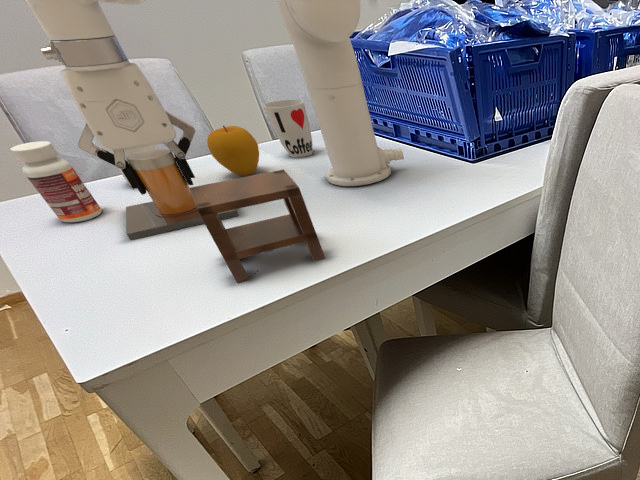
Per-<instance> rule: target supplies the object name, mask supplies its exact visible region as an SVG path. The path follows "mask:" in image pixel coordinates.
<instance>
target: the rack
mask: <svg viewBox="0 0 640 480" xmlns="http://www.w3.org/2000/svg"><path fill="white" fill-rule="evenodd" d="M189 187H190V186H189ZM190 190H191V194H192V197H193V200H194V203H195V206H196V209H197V211H198V212H199V214H200V216H201V218H202V220H203V222H204V225H205V227H206V229H207V231H208V233H209V235H210V237H211V238H212V241H213V242H214V244H215V245H216V247H217V249H218V251H219V253H220V254H221V256H222V258H223V260H224V262H225V264H226V266H227V267H228V269H229V271H230V273H231V275H232V277H233V278H234V281H235V282H236V283H241V282H245V281H249V280H250V278H249V275H248V273H247V271H246V269H245V267H244V266H243V263H242V261H241V259H244V258H248V257H253V256H256V255H258V254H264V253H268V252H271V251H274V250H279V249H283V248H287V247H291V246H295V245H299V244H303V243H305V244H306V246H307V249H308V252H309V254H310V257H311V259H312V261H314V262H317V261H321V260H324V259H326V255H325V253H324V250H323V248H322V245H321V242H320V239H319V237H318V234H317V231H316V229H315V226H314V223H313V221H312V218H311V215H310V212H309V211H308V207H307V204H306V202H305V200H304V197H303V194H302V191H301V188H300V187H299V185H298V184H297V183H296V181H294V179H293V178H292V177H291V176H290V175H289V174H288V172H287V171H286V170H285V169H284V168H283V169H278V170H274V171H269V172H264V173H258V174H251V175H248V176H241V177H238V178H233V179H227V180H222V181H217V182H211V183H206V184H201V185H196V186H191V187H190ZM280 200H283V202H284V205H285V207H286V209H287V212H288V214H284V215H280V216H275V217H271V218H266V219H263V220H258V221H254V222H250V223H246V224H241V225H237V226H233V227H228V228H226V227H225V225H224V223H223V221H222V220H221V219H220V217H219V215H218V213H221V212H225V211H230V210H234V209H236V210H238V209H242V208H247V207H252V206H257V205H262V204H266V203H271V202H274V201H280Z"/></svg>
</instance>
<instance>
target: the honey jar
mask: <svg viewBox="0 0 640 480" xmlns="http://www.w3.org/2000/svg"><path fill="white" fill-rule="evenodd" d="M127 160H128V162H129V164H130V165H131V167H132V168H133V169H134V171H135V172H136V174H137V176H138V177H139V179H140V181H141V182H142V184H143V186H144V187H145V189H146V193H147V194H148V196H149V198H150V199H151V202H154V204H155V206H156V207H157V209H158V211H159V212H160V213H161V214H178V213H183V212H187V211H189V210H192V209H194V208H196V206H195V203H194V200H193V197H192V194H191V190H190V185H188V183H187V181H186V179H185V178H184V176H183V174H182V172H181V170H180V168H179V166H178V164H177V162H176V160H175V155H174V153H173V152H172V151H171V150H170V149H169V148H156V149H151V150H145V151H140V152H136V153H133V154H131V155H129V156H127Z"/></svg>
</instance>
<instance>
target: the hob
mask: <svg viewBox="0 0 640 480" xmlns="http://www.w3.org/2000/svg"><path fill="white" fill-rule="evenodd" d="M218 215H219V217H220V219H221V221H222V220H226V219H231V218H236V217H238V216H239V214H238V211H237V209H234V210H230V211H225V212H221V213H218ZM203 224H204V225H205V223H204V222H203V220H202V218H201V216H200V214H199V212H198V211H197V209H196V208H194V209H192V210H189V211H187V212H183V213H178V214H161V213H160V212H159V211H158V209H157V207H156V206H155V204H154V202H153V201H149V202H143V203H138V204H133V205H129V206H125V225H126V226H125V227H126V232H125V233H126V236H127V237H128V238H129V240H130V241H132V240H136V239H141V238H146V237H150V236H155V235H159V234H164V233H168V232H172V231H177V230H181V229H186V228H190V227H194V226H198V225H199V226H200V225H203Z"/></svg>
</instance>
